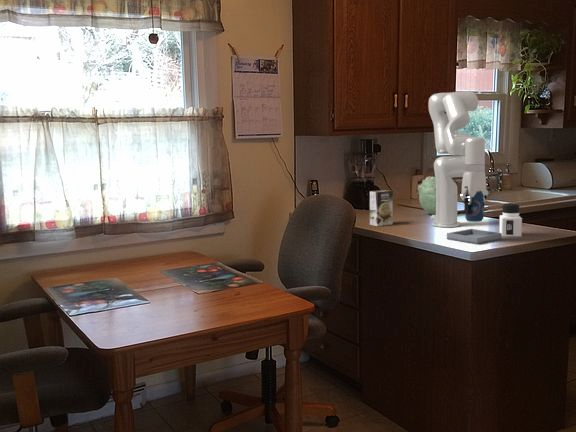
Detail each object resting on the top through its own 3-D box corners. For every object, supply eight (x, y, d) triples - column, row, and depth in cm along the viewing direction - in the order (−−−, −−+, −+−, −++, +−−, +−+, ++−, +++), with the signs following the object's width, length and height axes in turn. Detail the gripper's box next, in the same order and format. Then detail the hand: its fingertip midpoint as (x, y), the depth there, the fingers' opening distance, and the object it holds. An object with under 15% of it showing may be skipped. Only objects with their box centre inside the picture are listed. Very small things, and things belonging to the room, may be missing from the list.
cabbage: (454, 217, 304) (454, 177, 301) (415, 216, 310) (415, 177, 307) (456, 213, 318) (457, 174, 315) (419, 212, 325) (419, 174, 322)
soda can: (464, 221, 244) (464, 191, 243) (466, 219, 251) (466, 190, 249) (482, 222, 242) (483, 192, 240) (483, 219, 248) (484, 190, 247)
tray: (446, 239, 250) (446, 233, 249) (471, 234, 258) (471, 228, 258) (477, 244, 237) (477, 238, 237) (501, 239, 246) (501, 233, 245)
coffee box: (377, 226, 286) (377, 192, 283) (369, 224, 291) (368, 190, 289) (393, 224, 290) (393, 190, 287) (385, 222, 295) (384, 189, 293)
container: (521, 236, 250) (522, 204, 248) (501, 236, 251) (502, 205, 250) (518, 233, 257) (519, 202, 255) (499, 233, 259) (499, 202, 257)
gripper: (481, 167, 251) (480, 210, 254) (452, 169, 242) (452, 214, 244) (496, 167, 245) (496, 211, 248) (467, 170, 236) (467, 216, 238)
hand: (474, 212), depth 246 cm, fingers closed on soda can, 7 cm apart
